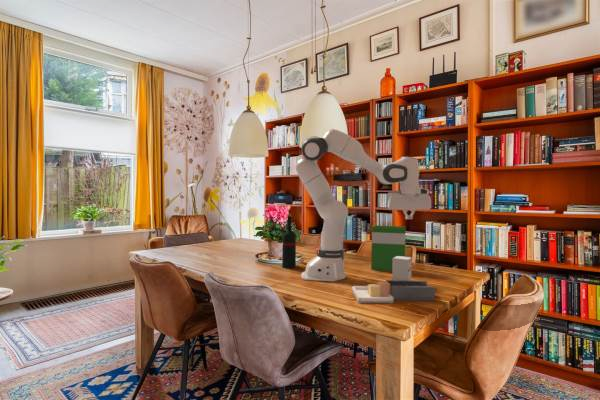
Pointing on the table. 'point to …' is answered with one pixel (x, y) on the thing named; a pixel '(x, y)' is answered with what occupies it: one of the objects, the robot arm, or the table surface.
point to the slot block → (411, 290)
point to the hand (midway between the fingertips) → (409, 219)
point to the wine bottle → (289, 247)
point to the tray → (363, 296)
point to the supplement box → (401, 268)
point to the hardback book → (386, 246)
